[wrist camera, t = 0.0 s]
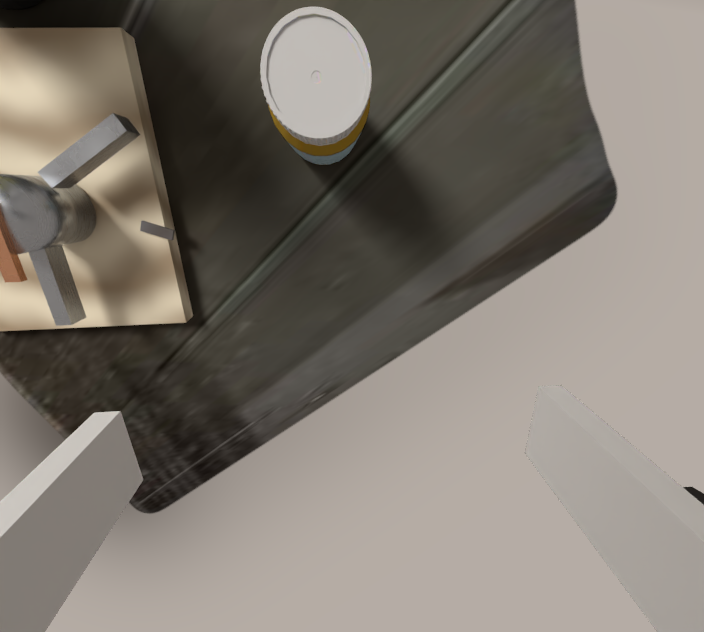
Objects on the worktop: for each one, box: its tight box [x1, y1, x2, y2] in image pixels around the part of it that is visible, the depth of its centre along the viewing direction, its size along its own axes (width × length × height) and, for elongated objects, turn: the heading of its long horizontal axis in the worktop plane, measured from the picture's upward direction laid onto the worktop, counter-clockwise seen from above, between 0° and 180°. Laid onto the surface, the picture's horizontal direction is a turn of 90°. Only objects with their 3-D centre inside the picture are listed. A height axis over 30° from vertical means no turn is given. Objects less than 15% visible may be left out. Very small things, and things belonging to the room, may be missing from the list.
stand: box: [0, 28, 193, 331], centre depth 31 cm, size 26×23×4 cm
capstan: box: [0, 113, 140, 326], centre depth 28 cm, size 17×20×7 cm
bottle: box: [260, 7, 372, 165], centre depth 25 cm, size 7×7×15 cm
